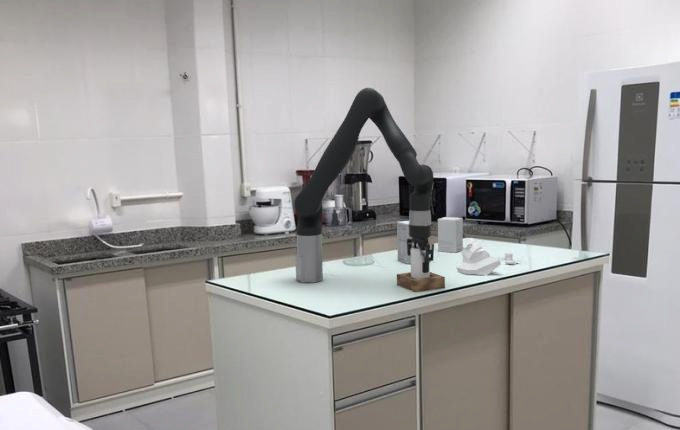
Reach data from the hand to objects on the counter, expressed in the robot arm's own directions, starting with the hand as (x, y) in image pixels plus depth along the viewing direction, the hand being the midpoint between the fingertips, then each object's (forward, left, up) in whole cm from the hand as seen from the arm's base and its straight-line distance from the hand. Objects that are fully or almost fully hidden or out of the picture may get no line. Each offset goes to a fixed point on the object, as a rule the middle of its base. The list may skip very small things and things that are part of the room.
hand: (420, 270), depth 205 cm
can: (0, 0, -4) cm, 4 cm away
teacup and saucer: (+50, +16, -6) cm, 52 cm away
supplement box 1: (+20, +38, -6) cm, 43 cm away
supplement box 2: (+48, +50, -6) cm, 70 cm away
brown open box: (0, 0, -6) cm, 6 cm away
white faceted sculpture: (+30, +8, -6) cm, 32 cm away
